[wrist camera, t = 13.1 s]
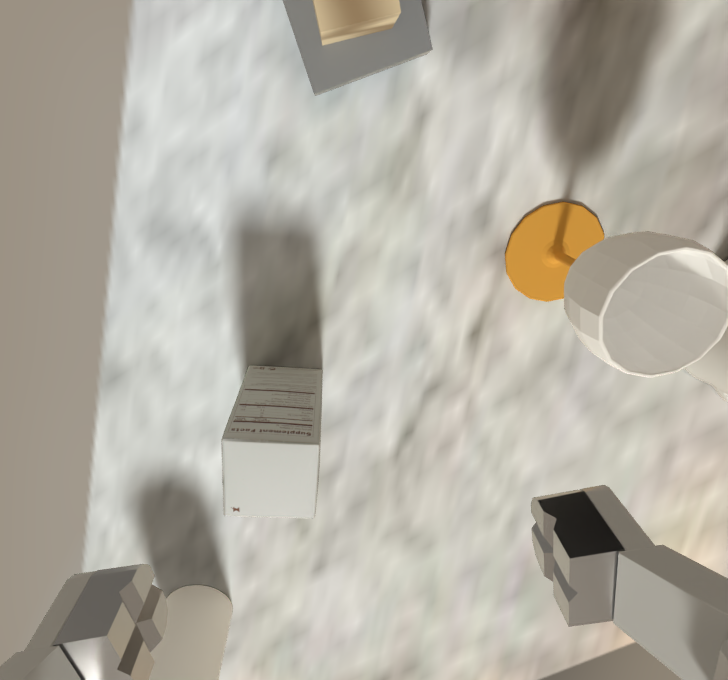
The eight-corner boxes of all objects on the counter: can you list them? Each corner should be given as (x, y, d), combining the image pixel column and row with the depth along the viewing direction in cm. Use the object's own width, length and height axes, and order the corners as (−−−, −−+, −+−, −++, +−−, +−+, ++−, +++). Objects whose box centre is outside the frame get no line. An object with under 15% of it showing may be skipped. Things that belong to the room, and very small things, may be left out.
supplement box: (320, 430, 49) (315, 522, 38) (247, 426, 49) (219, 519, 37) (325, 367, 46) (322, 445, 35) (247, 361, 46) (218, 439, 34)
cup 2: (613, 201, 42) (765, 239, 27) (592, 300, 45) (717, 381, 30) (511, 201, 41) (610, 240, 26) (498, 301, 45) (579, 384, 30)
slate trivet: (391, -87, 33) (396, -107, 30) (425, 55, 37) (432, 49, 34) (270, -39, 34) (264, -54, 31) (315, 96, 37) (314, 93, 35)
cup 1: (219, 578, 57) (179, 733, 42) (242, 623, 60) (212, 781, 45) (153, 593, 57) (90, 752, 42) (179, 636, 60) (130, 798, 46)
